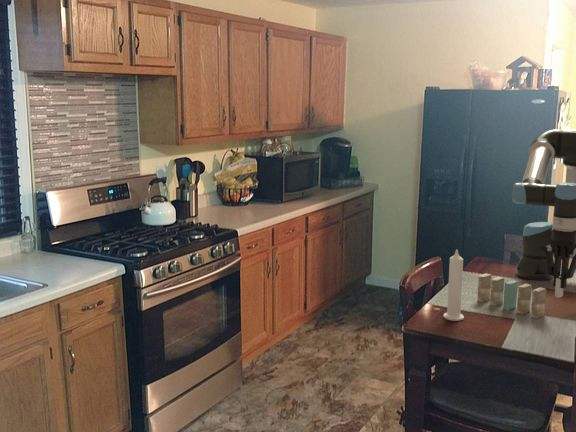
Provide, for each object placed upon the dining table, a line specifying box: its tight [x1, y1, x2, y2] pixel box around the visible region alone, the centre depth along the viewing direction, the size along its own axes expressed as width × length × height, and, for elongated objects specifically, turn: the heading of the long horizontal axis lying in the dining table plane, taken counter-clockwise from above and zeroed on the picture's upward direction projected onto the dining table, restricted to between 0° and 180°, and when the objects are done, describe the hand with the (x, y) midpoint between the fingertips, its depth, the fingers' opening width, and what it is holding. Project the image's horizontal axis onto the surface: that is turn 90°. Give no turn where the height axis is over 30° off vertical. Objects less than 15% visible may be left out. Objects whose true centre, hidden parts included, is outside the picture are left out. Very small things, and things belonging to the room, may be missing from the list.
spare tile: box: [502, 279, 519, 311], centre depth 216 cm, size 2×5×10 cm, turn 128°
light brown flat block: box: [477, 272, 492, 303], centre depth 225 cm, size 2×5×10 cm, turn 128°
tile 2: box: [516, 283, 533, 315], centre depth 212 cm, size 2×5×10 cm, turn 128°
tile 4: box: [489, 276, 505, 307], centre depth 221 cm, size 2×5×10 cm, turn 128°
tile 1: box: [530, 287, 547, 320], centre depth 208 cm, size 2×5×10 cm, turn 128°
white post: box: [443, 249, 465, 322], centre depth 206 cm, size 7×7×25 cm
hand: (558, 296), depth 201 cm, fingers closed
